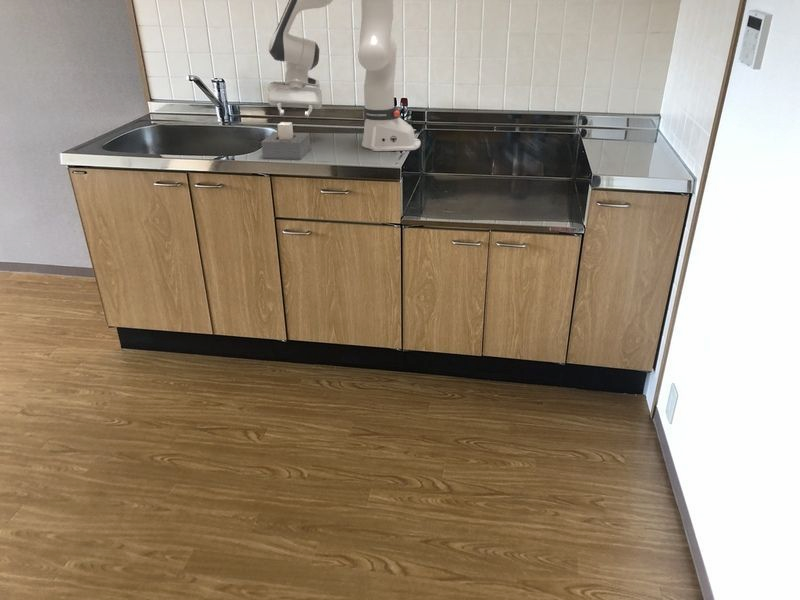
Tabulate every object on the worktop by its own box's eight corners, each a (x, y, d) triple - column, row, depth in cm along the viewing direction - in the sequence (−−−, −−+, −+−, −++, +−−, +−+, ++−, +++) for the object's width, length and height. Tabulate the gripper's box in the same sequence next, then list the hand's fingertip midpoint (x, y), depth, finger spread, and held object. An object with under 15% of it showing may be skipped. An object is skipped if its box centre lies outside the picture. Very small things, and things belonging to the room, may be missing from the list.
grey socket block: (310, 149, 252) (309, 133, 249) (300, 159, 240) (299, 142, 237) (274, 148, 254) (273, 132, 251) (263, 158, 241) (261, 141, 239)
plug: (294, 152, 248) (292, 122, 243) (291, 155, 244) (288, 125, 239) (283, 152, 249) (280, 122, 244) (280, 155, 245) (277, 124, 240)
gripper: (268, 76, 252) (265, 109, 248) (323, 81, 254) (321, 113, 251) (269, 85, 258) (266, 118, 254) (322, 90, 260) (321, 122, 257)
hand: (294, 116), depth 252 cm, fingers open, 8 cm apart
